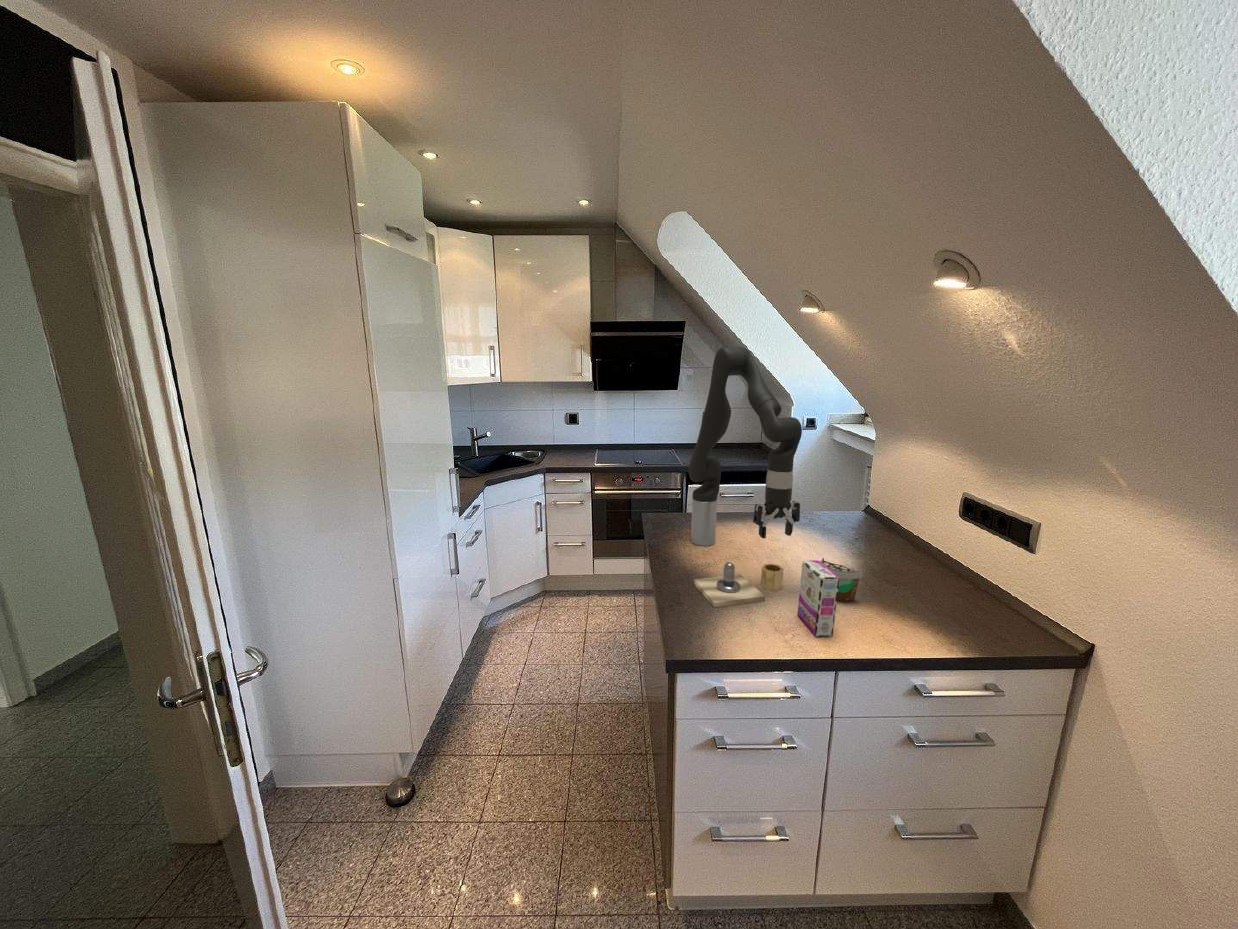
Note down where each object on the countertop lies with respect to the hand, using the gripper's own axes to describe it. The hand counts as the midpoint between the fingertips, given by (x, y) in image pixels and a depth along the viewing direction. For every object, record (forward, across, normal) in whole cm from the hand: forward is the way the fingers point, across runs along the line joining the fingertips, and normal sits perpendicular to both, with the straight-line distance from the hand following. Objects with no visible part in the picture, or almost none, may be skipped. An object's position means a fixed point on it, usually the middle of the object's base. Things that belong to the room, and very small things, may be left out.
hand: (775, 536), depth 147 cm
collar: (+16, 0, 0) cm, 16 cm away
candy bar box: (+17, +1, +23) cm, 28 cm away
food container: (+17, -14, +11) cm, 24 cm away
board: (+16, +15, 0) cm, 22 cm away
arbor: (+15, +15, 0) cm, 21 cm away
